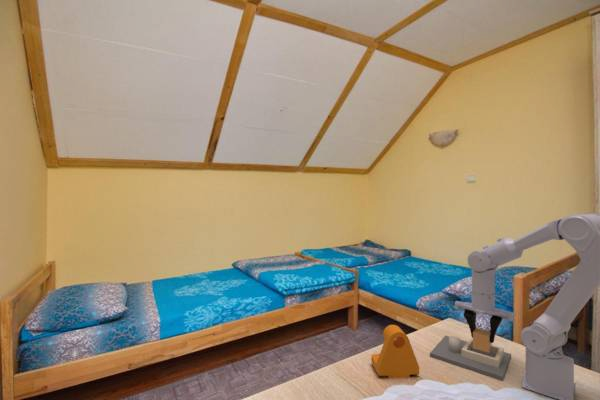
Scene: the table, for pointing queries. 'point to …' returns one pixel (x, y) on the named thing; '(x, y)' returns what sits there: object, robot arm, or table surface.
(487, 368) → the board
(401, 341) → the bracket
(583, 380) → the table surface
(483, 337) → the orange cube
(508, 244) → the robot arm
